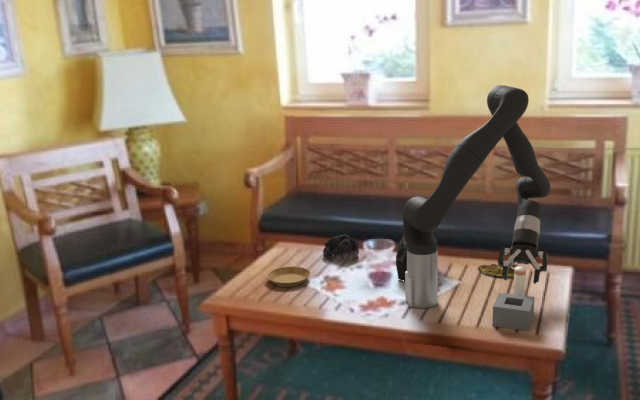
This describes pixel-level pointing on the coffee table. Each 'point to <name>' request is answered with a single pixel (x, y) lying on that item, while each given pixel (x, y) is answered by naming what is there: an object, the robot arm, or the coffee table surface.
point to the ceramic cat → (404, 257)
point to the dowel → (519, 280)
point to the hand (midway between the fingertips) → (519, 281)
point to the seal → (496, 270)
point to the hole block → (513, 311)
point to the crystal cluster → (341, 248)
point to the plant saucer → (289, 276)
